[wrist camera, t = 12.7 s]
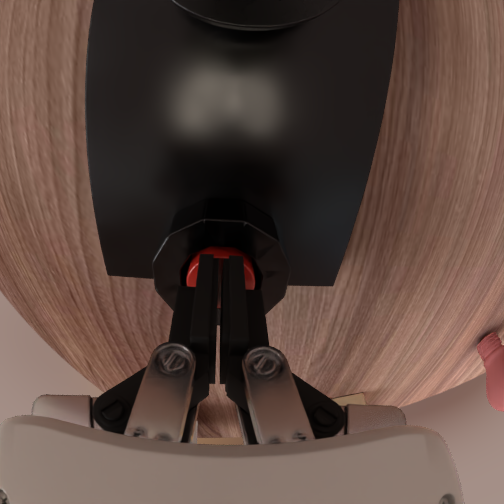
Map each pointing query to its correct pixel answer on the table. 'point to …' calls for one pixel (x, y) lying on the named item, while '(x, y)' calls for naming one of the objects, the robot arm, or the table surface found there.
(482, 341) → the light bulb
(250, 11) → the lamp
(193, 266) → the button
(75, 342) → the table surface
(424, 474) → the robot arm
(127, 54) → the lamp base
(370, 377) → the table surface
